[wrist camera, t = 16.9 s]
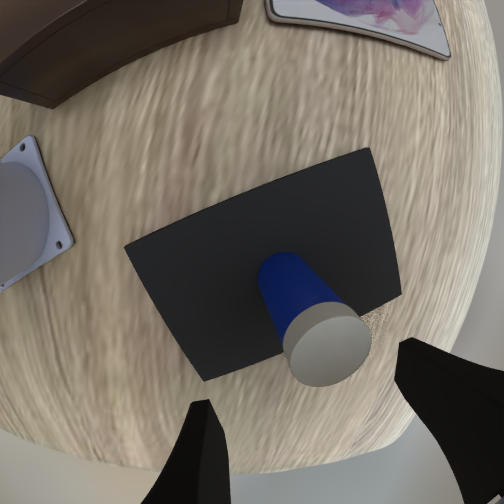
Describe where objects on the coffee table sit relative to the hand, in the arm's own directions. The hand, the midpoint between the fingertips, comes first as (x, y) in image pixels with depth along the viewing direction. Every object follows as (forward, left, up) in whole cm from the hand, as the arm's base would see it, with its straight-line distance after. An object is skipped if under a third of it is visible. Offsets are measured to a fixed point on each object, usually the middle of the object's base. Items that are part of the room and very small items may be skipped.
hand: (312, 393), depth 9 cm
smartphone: (+14, +17, -9) cm, 24 cm away
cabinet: (-2, +24, -9) cm, 25 cm away
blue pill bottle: (+1, +1, -9) cm, 9 cm away
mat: (+1, +1, -9) cm, 9 cm away
